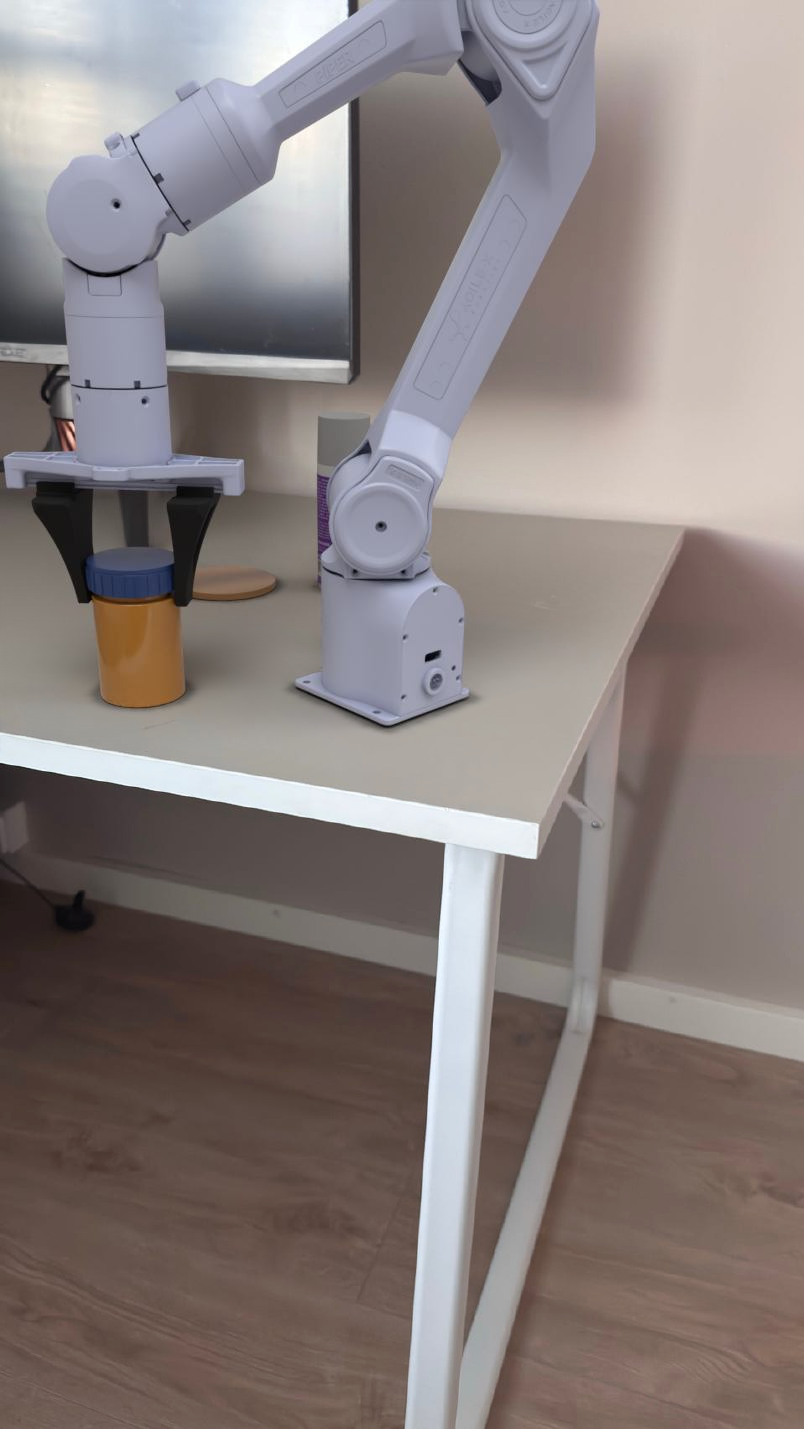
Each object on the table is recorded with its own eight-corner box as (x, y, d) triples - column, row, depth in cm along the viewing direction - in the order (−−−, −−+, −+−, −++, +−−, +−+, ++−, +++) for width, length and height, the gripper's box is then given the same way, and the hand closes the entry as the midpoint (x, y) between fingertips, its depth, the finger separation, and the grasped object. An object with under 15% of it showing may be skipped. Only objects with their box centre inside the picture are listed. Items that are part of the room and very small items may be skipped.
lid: (124, 568, 73) (122, 542, 73) (199, 579, 71) (198, 553, 71) (67, 591, 68) (65, 563, 68) (147, 604, 66) (145, 575, 66)
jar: (202, 693, 73) (195, 569, 69) (129, 714, 69) (119, 586, 66) (156, 671, 76) (147, 553, 73) (85, 690, 73) (72, 567, 69)
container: (363, 595, 94) (364, 420, 88) (311, 591, 95) (309, 417, 89) (374, 581, 99) (377, 413, 93) (325, 577, 99) (324, 410, 93)
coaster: (296, 587, 96) (296, 580, 96) (212, 607, 90) (212, 600, 90) (235, 566, 102) (235, 560, 102) (154, 583, 96) (153, 577, 96)
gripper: (-26, 388, 61) (2, 615, 67) (228, 396, 61) (235, 623, 66) (17, 375, 68) (40, 583, 73) (247, 383, 68) (252, 591, 73)
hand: (135, 600), depth 70 cm, fingers closed on lid, 6 cm apart
